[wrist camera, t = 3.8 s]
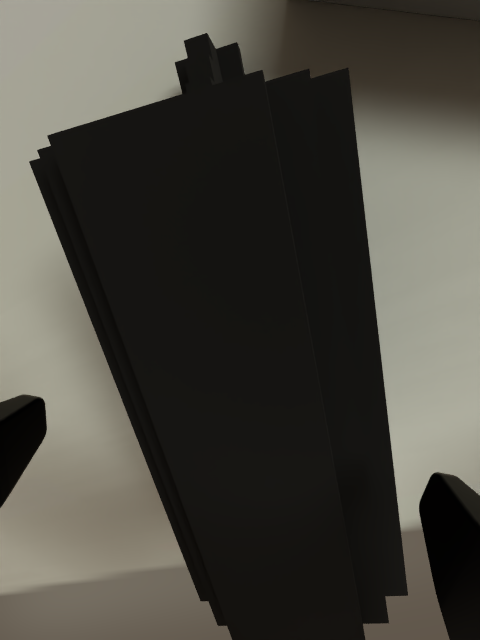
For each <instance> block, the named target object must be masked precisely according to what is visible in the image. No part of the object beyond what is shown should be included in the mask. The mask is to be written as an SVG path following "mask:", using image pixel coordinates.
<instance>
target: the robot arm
mask: <svg viewBox="0 0 480 640" xmlns="http://www.w3.org/2000/svg"><path fill="white" fill-rule="evenodd" d="M46 430H47V424H46V410H45V402H44V400H43V399H42V398H41V397H36V396H31V395H20V396H17V397H15V398H12V399H9V400H6V401H3V402H0V508H1V506H2V505H3V504H4V502H5V501H6V499H7V498H8V496H9V494H10V493H11V491H12V490H13V488H14V486H15V485H16V483H17V482H18V480H19V478H20V477H21V475H22V474H23V472H24V470H25V469H26V467H27V465H28V464H29V462H30V461H31V459H32V457H33V456H34V454H35V453H36V451H37V449H38V448H39V446H40V444H41V443H42V441H43V439H44V437H45V435H46ZM419 512H420V518H421V523H422V528H423V532H424V538H425V543H426V547H427V553H428V558H429V562H430V567H431V572H432V577H433V582H434V586H435V590H436V595H437V598H438V602H439V605H440V609H441V612H442V616H443V619H444V622H445V625H446V629H447V632H448V635H449V639H450V640H480V495H478V494H477V493H476V492H475V491H474V490H472V489H471V488H470V487H469V486H468V485H466V484H465V483H464V482H463V481H462V480H460V479H459V478H458V477H456V476H454V475H450V474H444V473H439V472H436V473H433V474H432V475H431V477H430V479H429V482H428V484H427V486H426V488H425V491H424V493H423V495H422V498H421V500H420V504H419Z"/></svg>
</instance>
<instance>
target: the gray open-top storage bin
mask: <svg viewBox="0 0 480 640" xmlns="http://www.w3.org/2000/svg"><path fill="white" fill-rule="evenodd" d="M310 1H319V2H327V3H336V4H344V5H352V6H361V7H369V8H378V9H386V10H394V11H403V12H411V13H420V14H428V15H436V16H445V17H453V18H461V19H470V20H478V21H480V0H310Z"/></svg>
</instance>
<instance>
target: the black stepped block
mask: <svg viewBox="0 0 480 640" xmlns="http://www.w3.org/2000/svg"><path fill="white" fill-rule="evenodd" d="M184 44H185V48H186V52H187V56H188V58H187V59H184V60H181V61H178V62H175V65H176V69H177V73H178V77H179V81H180V85H181V90H182V95H178V96H175V97H172V98H168V99H165V100H162V101H159V102H155V103H152V104H149V105H146V106H142V107H139V108H136V109H133V110H129V111H126V112H123V113H119V114H116V115H113V116H110V117H106V118H103V119H100V120H97V121H93V122H90V123H87V124H84V125H80V126H77V127H74V128H70V129H67V130H64V131H61V132H57V133H54V134H51V135H48V139H49V142H50V144H51V146H49V147H46V148H42V149H39V150H37V151H38V154H39V156H40V158H39V159H36V160H33V161H29V163H30V165H31V168H32V170H33V173H34V176H35V178H36V181H37V183H38V186H39V188H40V191H41V193H42V196H43V199H44V201H45V204H46V206H47V209H48V211H49V214H50V216H51V219H52V222H53V224H54V227H55V229H56V232H57V234H58V237H59V240H60V242H61V245H62V247H63V250H64V252H65V255H66V257H67V260H68V263H69V265H70V268H71V270H72V273H73V275H74V278H75V281H76V283H77V286H78V288H79V291H80V293H81V296H82V298H83V301H84V304H85V306H86V309H87V311H88V314H89V316H90V319H91V321H92V324H93V327H94V329H95V332H96V334H97V337H98V339H99V342H100V345H101V347H102V350H103V352H104V355H105V357H106V360H107V362H108V365H109V368H110V370H111V373H112V375H113V378H114V380H115V383H116V385H117V388H118V391H119V393H120V396H121V398H122V401H123V403H124V406H125V409H126V411H127V414H128V416H129V419H130V421H131V424H132V426H133V429H134V432H135V434H136V437H137V439H138V442H139V444H140V447H141V449H142V452H143V455H144V457H145V460H146V462H147V465H148V467H149V470H150V473H151V475H152V478H153V480H154V483H155V485H156V488H157V490H158V493H159V496H160V498H161V501H162V503H163V506H164V508H165V511H166V514H167V516H168V519H169V521H170V524H171V526H172V529H173V531H174V534H175V537H176V539H177V542H178V544H179V547H180V549H181V552H182V554H183V557H184V560H185V562H186V565H187V567H188V570H189V572H190V575H191V578H192V580H193V582H194V585H195V588H196V590H197V593H198V595H199V598H200V601H209V604H210V606H211V609H212V612H213V614H214V617H215V619H216V622H217V625H218V626H228V629H229V631H230V634H231V637H232V640H365V636H364V629H363V623H364V624H365V623H366V624H367V623H368V624H369V623H389V620H388V614H387V607H386V600H385V596H406V595H408V592H407V583H406V574H405V565H404V556H403V548H402V538H401V530H400V521H399V512H398V503H397V494H396V485H395V477H394V468H393V459H392V450H391V441H390V432H389V424H388V415H387V406H386V397H385V388H384V379H383V371H382V362H381V353H380V344H379V335H378V326H377V318H376V309H375V300H374V291H373V282H372V273H371V264H370V256H369V247H368V238H367V229H366V220H365V211H364V203H363V194H362V185H361V176H360V167H359V158H358V150H357V141H356V132H355V123H354V114H353V105H352V97H351V88H350V79H349V70H348V68H346V69H342V70H339V71H335V72H332V73H329V74H325V75H322V76H318V77H315V78H312V79H311V78H310V71H309V69H306V70H303V71H300V72H296V73H293V74H290V75H286V76H283V77H280V78H276V79H273V80H270V81H266V82H265V79H264V75H263V70H260V71H257V72H253V73H250V74H247V75H245V74H244V69H243V64H242V59H241V53H240V49H239V46H238V43H237V42H236V43H233V44H230V45H227V46H224V47H221V48H218V49H216V48H215V47H214V45H213V43H212V41H211V39H210V37H209V36H208V34H207V33H205V34H202V35H199V36H196V37H193V38H190V39H188V40H185V41H184Z"/></svg>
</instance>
